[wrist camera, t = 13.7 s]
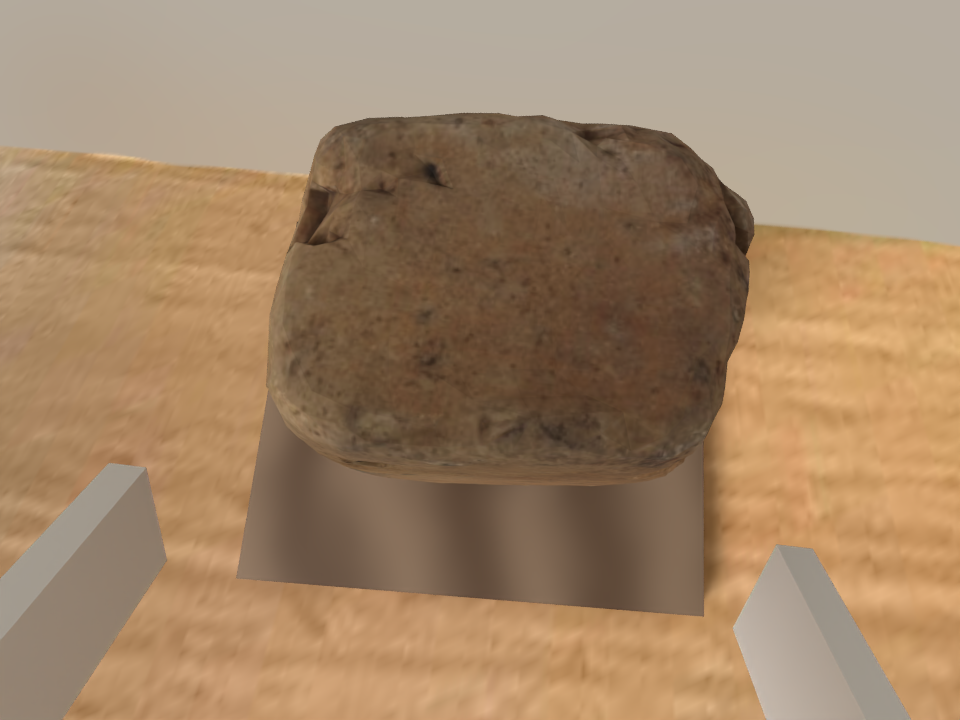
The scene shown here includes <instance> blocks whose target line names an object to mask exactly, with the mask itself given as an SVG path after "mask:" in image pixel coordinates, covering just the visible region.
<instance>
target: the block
mask: <svg viewBox="0 0 960 720" xmlns="http://www.w3.org/2000/svg"><path fill="white" fill-rule="evenodd" d="M753 236H754V218H753V216H752V214H751V211H750V209H749V207H748V204H747V202H746V201H745V200H744V199H743V198H741V197H740V196H739V195H738V194H737V193H735V192H733V191H732V190H731V189H729V188H728V187H727V186H725V185H724V184H723V183H722V182H721V181H720V180H719V179H718V177H717V175H716V173H715V172H714V170H713V168H712V167H711V166H709V165H708V164H707V163H705V162H704V161H703V160H702V159H701V158H700V157H699V156H698V155H697V154H696V153H695V152H694V151H693V150H692V149H691V148H690V147H688V146H687V145H686V144H685V143H683V142H682V141H681V140H679V139H678V138H677V137H676V136H674V135H673V134H672V133H667V132H662V131H657V130H651V129H646V128H641V127H636V126H630V125H613V124H580V123H574V122H567V121H560V120H556V119H553V118H550V117H546V116H543V115H539V116H519V117H517V116H511V115H505V114H500V113H459V114H446V115H436V116H422V117H408V118H407V117H406V118H404V117H389V118H367V119H363V120H359V121H355V122H352V123H347V124H344V125H340V126H336V127H334V128H333V129H332V130H331V131H330V132H328V133H327V134H326V135H325V136H324V137H323V138H322V139H321V140H320V143H319V145H318V148H317V151H316V153H315V155H314V159H313V163H312V167H311V171H310V174H309V178H308V182H307V185H306V189H305V192H304V196H303V200H302V205H301V211H300V217H299V221H298V224H297V227H296V230H295V233H294V236H293V239H292V241H291V244H290V247H289V250H288V252H287V255H286V258H285V261H284V264H283V268H282V271H281V274H280V278H279V281H278V285H277V288H276V292H275V296H274V300H273V304H272V308H271V312H270V322H269V342H268V363H267V383H266V386H267V388H268V390H269V392H270V394H271V396H272V398H273V400H274V402H275V404H276V406H277V408H278V410H279V412H280V414H281V416H282V418H283V420H284V422H285V424H286V426H287V427H288V428H289V429H290V430H291V431H292V432H293V433H294V434H295V435H296V436H297V437H298V438H300V439H301V440H303V441H304V442H305V443H306V444H307V445H309V446H310V447H311V448H312V449H314V450H315V451H316V452H317V453H319V454H320V455H323V456H325V457H327V458H329V459H330V460H332V461H334V462H337V463H339V464H341V465H343V466H345V467H347V468H350V469H353V470H356V471H359V472H362V473H366V474H370V475H375V476H380V477H387V478H395V479H404V480H414V481H424V482H432V483H459V484H488V485H522V486H529V485H573V486H601V485H614V484H628V483H637V482H643V481H649V480H653V479H656V478H659V477H664V476H666V475H667V474H668V473H670V472H671V471H673V470H674V469H675V468H676V467H678V466H679V465H681V464H682V463H684V461H685V458H686V457H687V456H689V455H691V454H693V453H694V452H695V450H696V449H697V448H698V447H699V445H700V444H701V443H702V442H703V440H704V439H705V437H706V435H707V433H708V431H709V429H710V426H711V424H712V422H713V420H714V418H715V416H716V414H717V412H718V410H719V409H720V407H721V405H722V401H723V396H724V390H725V382H726V372H727V361H728V359H729V357H730V356H731V354H732V352H733V350H734V348H735V346H736V344H737V342H738V339H739V335H740V332H741V328H742V324H743V321H744V314H745V307H746V300H747V295H748V289H749V260H748V259H747V258H746V257H745V255H746V253H747V251H748V248H749V246H750V243H751V241H752V239H753Z"/></svg>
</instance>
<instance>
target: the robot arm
mask: <svg viewBox="0 0 960 720" xmlns="http://www.w3.org/2000/svg"><path fill="white" fill-rule="evenodd" d="M166 561H167V558H166V553H165V549H164V544H163V540H162V536H161V531H160V527H159V522H158V518H157V513H156V509H155V504H154V500H153V495H152V491H151V487H150V482H149V478H148V473H147V469H146V467H138V466H129V465H121V464H113V463H108V465H107V466H106V467H105V468H104V469H103V470H102V471H101V472H100V473H99V474H98V475H97V476H96V477H95V478H94V479H93V481H92V482H91V483H90V484H89V485H88V486H87V487H86V488H85V489H84V490H83V491H82V492H81V493H80V494H79V495H78V496H77V498H76V499H75V500H74V501H73V502H72V503H71V504H70V505H69V506H68V507H67V508H66V509H65V510H64V511H63V512H62V514H61V515H60V516H59V517H58V518H57V519H56V520H55V521H54V522H53V523H52V524H51V525H50V526H49V527H48V528H47V529H46V531H45V532H44V533H43V534H42V535H41V536H40V537H39V538H38V539H37V540H36V541H35V542H34V543H33V544H32V545H31V547H30V548H29V549H28V550H27V551H26V552H25V553H24V554H23V555H22V556H21V557H20V558H19V559H18V560H17V561H16V562H15V564H14V565H13V566H12V567H11V568H10V569H9V570H8V571H7V572H6V573H5V574H4V575H3V576H2V577H1V578H0V720H62V719H63V718H64V716H65V715H66V713H67V712H68V710H69V709H70V707H71V705H72V704H73V702H74V701H75V699H76V698H77V696H78V695H79V693H80V692H81V690H82V689H83V687H84V686H85V684H86V683H87V681H88V680H89V678H90V677H91V675H92V674H93V672H94V670H95V669H96V667H97V666H98V664H99V663H100V661H101V660H102V658H103V657H104V655H105V654H106V652H107V651H108V649H109V648H110V646H111V645H112V643H113V642H114V640H115V639H116V637H117V635H118V634H119V632H120V631H121V629H122V628H123V626H124V625H125V623H126V622H127V620H128V619H129V617H130V616H131V614H132V613H133V611H134V610H135V608H136V607H137V605H138V603H139V602H140V600H141V599H142V597H143V596H144V594H145V593H146V591H147V590H148V588H149V587H150V585H151V584H152V582H153V581H154V579H155V578H156V576H157V575H158V573H159V572H160V570H161V568H162V567H163V565H164V564H165V562H166ZM733 630H734V633H735V636H736V639H737V641H738V644H739V647H740V649H741V652H742V655H743V658H744V660H745V663H746V666H747V669H748V671H749V674H750V677H751V679H752V682H753V685H754V688H755V690H756V693H757V696H758V699H759V701H760V704H761V707H762V710H763V712H764V715H765V718H766V720H911V718H910V717H909V715H908V713H907V711H906V710H905V708H904V706H903V704H902V703H901V701H900V699H899V698H898V696H897V694H896V692H895V691H894V689H893V687H892V685H891V684H890V682H889V680H888V678H887V677H886V675H885V673H884V672H883V670H882V668H881V666H880V665H879V663H878V661H877V659H876V658H875V656H874V654H873V652H872V651H871V649H870V647H869V646H868V644H867V642H866V640H865V639H864V637H863V635H862V633H861V632H860V630H859V628H858V626H857V625H856V623H855V621H854V620H853V618H852V616H851V614H850V613H849V611H848V609H847V607H846V606H845V604H844V602H843V600H842V599H841V597H840V595H839V594H838V592H837V590H836V588H835V587H834V585H833V583H832V581H831V580H830V578H829V576H828V574H827V573H826V571H825V569H824V568H823V566H822V564H821V562H820V561H819V559H818V557H817V555H816V554H815V552H814V550H813V549H810V548H802V547H793V546H785V545H777V544H776V546H775V548H774V550H773V552H772V554H771V556H770V558H769V560H768V562H767V563H766V565H765V567H764V569H763V571H762V573H761V575H760V577H759V579H758V581H757V583H756V584H755V586H754V588H753V590H752V592H751V594H750V596H749V598H748V600H747V602H746V604H745V605H744V607H743V609H742V611H741V613H740V615H739V617H738V619H737V621H736V623H735V625H734V626H733Z"/></svg>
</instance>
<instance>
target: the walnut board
mask: <svg viewBox="0 0 960 720" xmlns="http://www.w3.org/2000/svg"><path fill="white" fill-rule="evenodd" d="M297 224H298V222H297ZM296 227H297V225H296ZM236 578H237V579H250V580H262V581H274V582H286V583H299V584H311V585H323V586H335V587H348V588H360V589H372V590H384V591H397V592H409V593H421V594H433V595H446V596H458V597H470V598H482V599H495V600H507V601H519V602H531V603H544V604H556V605H568V606H581V607H593V608H605V609H617V610H630V611H642V612H654V613H666V614H679V615H691V616H703V617H704V470H703V442H702V443H701V444H700V445H699V447H698V448H697V449H696V450H695V452H694V453H693V454H691V455H689V456H687V457H686V458H685V461H684V463H682V464H681V465H679V466H678V467H676V468H675V469H674V470H673V471H671V472H670V473H668V474H667V475H666V476H664V477H659V478H656V479H653V480H649V481H643V482H637V483H628V484H614V485H601V486H573V485H529V486H522V485H488V484H459V483H432V482H424V481H414V480H404V479H395V478H387V477H380V476H375V475H370V474H366V473H362V472H359V471H356V470H353V469H350V468H347V467H345V466H343V465H341V464H339V463H337V462H334V461H332V460H330V459H329V458H327V457H325V456H323V455H320V454H319V453H317V452H316V451H315V450H314V449H312V448H311V447H310V446H309V445H307V444H306V443H305V442H304V441H303V440H301V439H300V438H298V437H297V436H296V435H295V434H294V433H293V432H292V431H291V430H290V429H289V428H288V427H287V426H286V424H285V422H284V420H283V418H282V416H281V414H280V412H279V410H278V408H277V406H276V404H275V402H274V400H273V398H272V396H271V394H270V392H269V390H268V395H267V401H266V407H265V413H264V419H263V425H262V431H261V436H260V442H259V448H258V454H257V460H256V466H255V472H254V477H253V483H252V489H251V495H250V501H249V507H248V513H247V518H246V524H245V530H244V536H243V542H242V548H241V554H240V560H239V565H238V571H237V577H236Z"/></svg>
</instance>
